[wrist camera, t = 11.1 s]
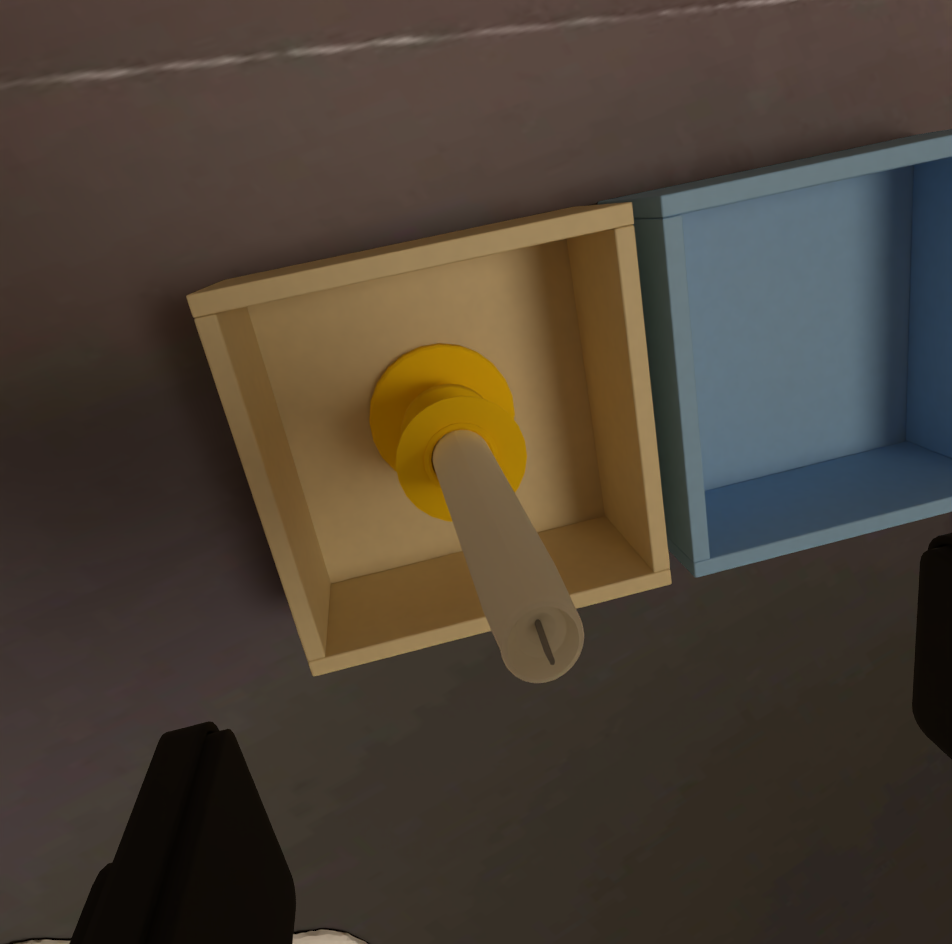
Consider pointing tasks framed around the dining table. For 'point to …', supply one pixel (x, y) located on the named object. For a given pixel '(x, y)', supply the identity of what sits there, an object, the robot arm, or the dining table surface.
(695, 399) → the blue bin
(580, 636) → the candle
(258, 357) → the cream bin
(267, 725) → the dining table surface
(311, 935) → the tree stump
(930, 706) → the robot arm
